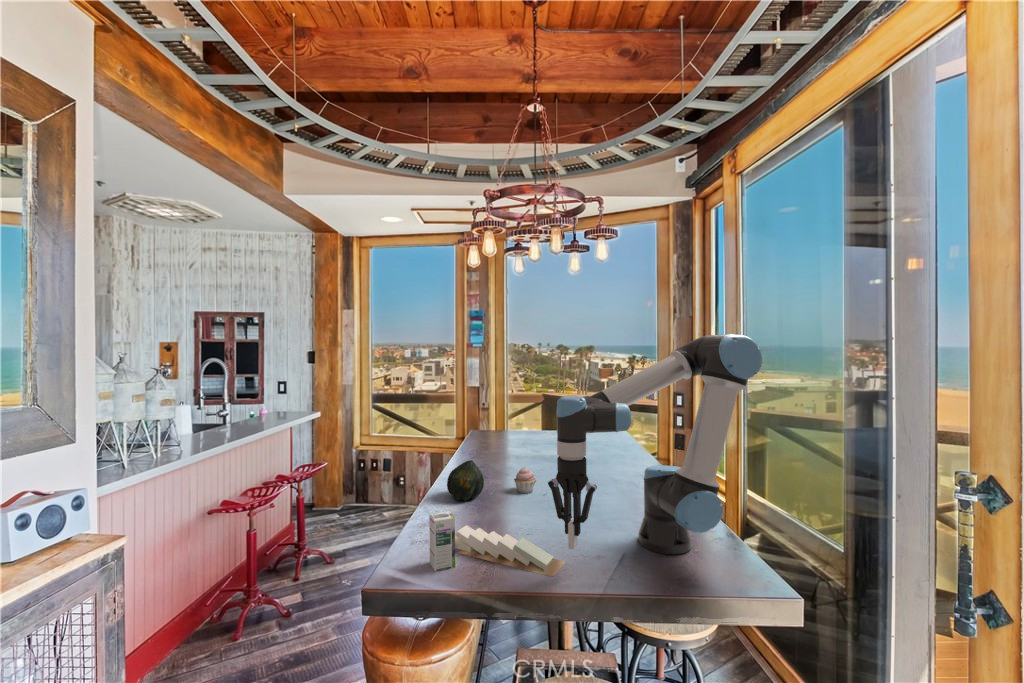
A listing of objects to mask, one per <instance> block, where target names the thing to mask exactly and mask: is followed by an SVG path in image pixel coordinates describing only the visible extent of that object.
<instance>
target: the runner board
mask: <svg viewBox="0 0 1024 683" xmlns="http://www.w3.org/2000/svg"><path fill="white" fill-rule="evenodd" d="M456 553H457V554H460V555H461V554H462V555H465V556H469V557H472V558H477V559H481V560H484V561H485V560H486V561H488V562H493V563H497V564H501V565H503V566H508V567H512V568H517V569H521V570H525V571H528V572H532V573H536V574H541V575H543V576H548V577H552V578H553V577H554V576H556V574H557V573H558V572H559V570H560V569H561V568H562V566H563V565H564V564H565V563H566V561H565V560H562V559H561V560H560V559H557V558H553V561H552V563H551V564H550V565H549V566H548V567H547V568H546V570H543V569H542V568H540V567H539V566H537V565H536V564H534V563H532V562H531V563H530V564H529V565H528V566H527V565H525V564H524V563H522V562H521V561H519V560H518V559H515V560H514V561H513V562H511V561H510V560H508V559H507V558H505V557H504V556H502V555H500V556H499V557H498V558H495V557H494V556H493V555H491V554H490V553H488V552H486V553H485V554H484V555H482V554H481V553H479V552H478V551H476V550H475V549H474V550H472V551H471V552H469V551H465V550H461V549H457V550H455V554H456Z"/></svg>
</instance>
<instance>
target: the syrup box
mask: <svg viewBox="0 0 1024 683" xmlns="http://www.w3.org/2000/svg"><path fill="white" fill-rule="evenodd" d="M428 517H429V519H428V521H429V522H428V523H429V524H428V525H429V563H430V566H431V567H432V569H433V571H434V572H440V571H444V570H445V571H446V570H450V569H454V568H456V548H455V534H456V517H455V515H454V514H453V513H452V512H451V511H450V510H447V511H442V512H441V511H440V512H436V513H430V514H429V516H428Z"/></svg>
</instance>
